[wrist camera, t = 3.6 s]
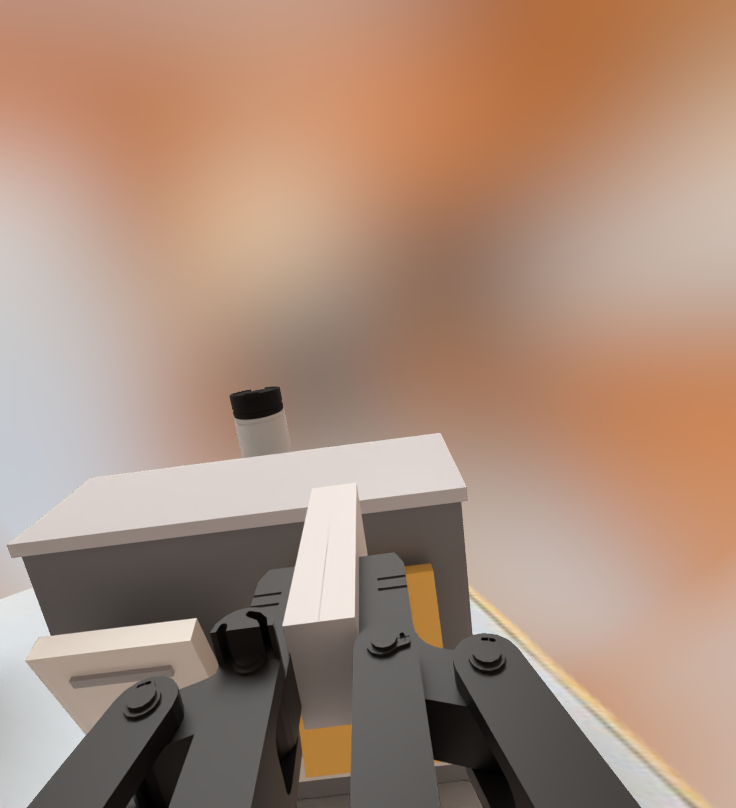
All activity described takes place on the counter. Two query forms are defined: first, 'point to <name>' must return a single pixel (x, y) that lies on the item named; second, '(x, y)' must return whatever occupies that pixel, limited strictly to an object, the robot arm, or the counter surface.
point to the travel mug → (260, 422)
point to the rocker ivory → (118, 663)
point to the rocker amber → (333, 744)
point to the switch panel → (242, 541)
